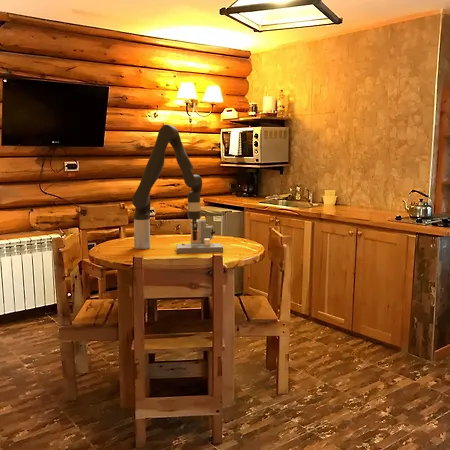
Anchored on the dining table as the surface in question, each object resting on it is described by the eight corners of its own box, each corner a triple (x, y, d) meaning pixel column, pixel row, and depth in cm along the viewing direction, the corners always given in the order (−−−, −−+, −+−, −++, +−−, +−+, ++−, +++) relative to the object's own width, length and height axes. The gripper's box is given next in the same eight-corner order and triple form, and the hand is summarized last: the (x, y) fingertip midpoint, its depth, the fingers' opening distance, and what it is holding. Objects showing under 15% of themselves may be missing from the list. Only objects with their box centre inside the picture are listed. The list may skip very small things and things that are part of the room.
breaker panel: (177, 253, 287) (177, 246, 287) (176, 249, 299) (176, 243, 298) (223, 252, 291) (223, 245, 290) (220, 248, 302) (220, 242, 302)
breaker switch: (204, 245, 293) (204, 239, 292) (204, 244, 297) (204, 238, 296) (210, 245, 293) (210, 239, 293) (209, 244, 297) (209, 238, 297)
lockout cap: (191, 241, 291) (191, 231, 291) (190, 240, 295) (190, 230, 294) (198, 241, 292) (198, 230, 291) (197, 240, 296) (197, 229, 295)
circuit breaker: (213, 246, 310) (213, 221, 308) (190, 245, 313) (190, 221, 311) (216, 243, 317) (215, 219, 315) (193, 243, 320) (193, 219, 318)
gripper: (201, 211, 285) (202, 241, 287) (199, 208, 299) (200, 237, 301) (188, 211, 284) (188, 242, 286) (186, 208, 298) (187, 237, 300)
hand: (194, 239), depth 294 cm, fingers closed on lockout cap, 4 cm apart
